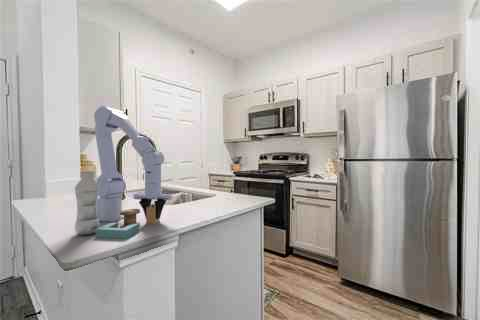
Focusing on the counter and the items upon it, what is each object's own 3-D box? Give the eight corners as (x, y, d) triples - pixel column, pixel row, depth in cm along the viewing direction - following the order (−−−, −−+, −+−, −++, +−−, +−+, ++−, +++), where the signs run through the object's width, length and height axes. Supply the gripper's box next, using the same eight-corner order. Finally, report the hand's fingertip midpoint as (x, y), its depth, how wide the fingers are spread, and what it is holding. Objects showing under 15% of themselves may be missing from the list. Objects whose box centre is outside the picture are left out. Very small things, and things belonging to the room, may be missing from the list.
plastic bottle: (88, 238, 67) (88, 172, 67) (69, 236, 69) (69, 172, 68) (104, 231, 74) (104, 171, 74) (87, 229, 75) (87, 171, 75)
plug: (146, 223, 83) (146, 205, 83) (150, 220, 86) (151, 203, 86) (155, 223, 83) (155, 205, 83) (159, 220, 86) (159, 203, 86)
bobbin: (115, 229, 75) (115, 212, 75) (127, 223, 82) (127, 208, 82) (133, 230, 75) (133, 213, 75) (143, 224, 81) (143, 209, 81)
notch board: (95, 237, 68) (95, 229, 68) (111, 229, 75) (111, 222, 75) (126, 238, 67) (126, 230, 67) (138, 231, 74) (138, 223, 74)
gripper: (128, 183, 81) (128, 220, 81) (166, 184, 80) (166, 222, 80) (139, 181, 88) (139, 215, 88) (174, 182, 87) (174, 216, 87)
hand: (153, 218), depth 85 cm, fingers closed on plug, 3 cm apart
